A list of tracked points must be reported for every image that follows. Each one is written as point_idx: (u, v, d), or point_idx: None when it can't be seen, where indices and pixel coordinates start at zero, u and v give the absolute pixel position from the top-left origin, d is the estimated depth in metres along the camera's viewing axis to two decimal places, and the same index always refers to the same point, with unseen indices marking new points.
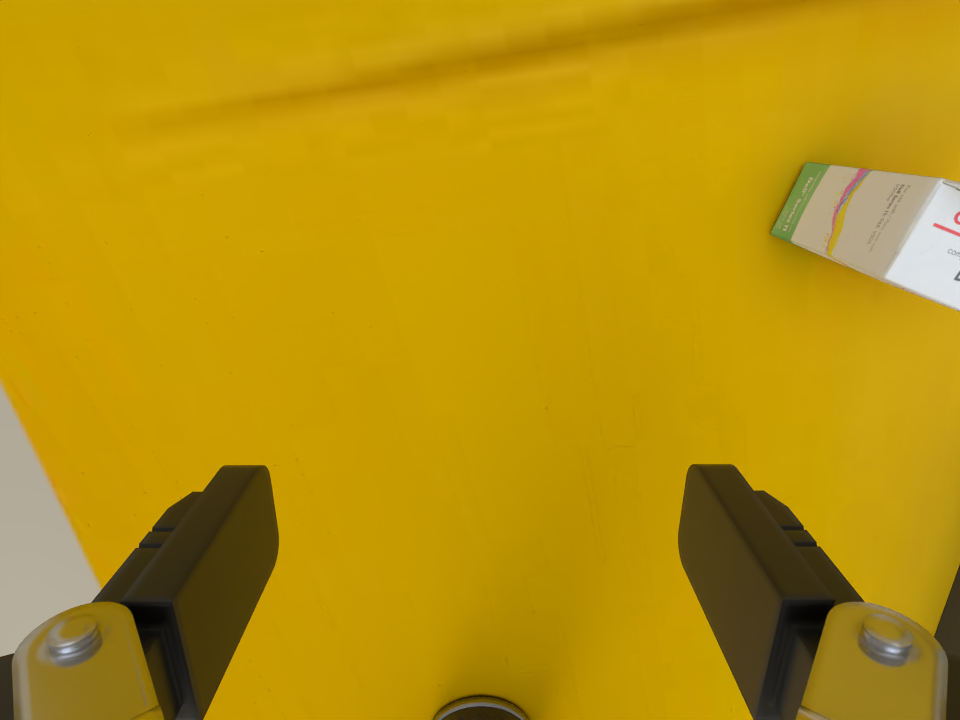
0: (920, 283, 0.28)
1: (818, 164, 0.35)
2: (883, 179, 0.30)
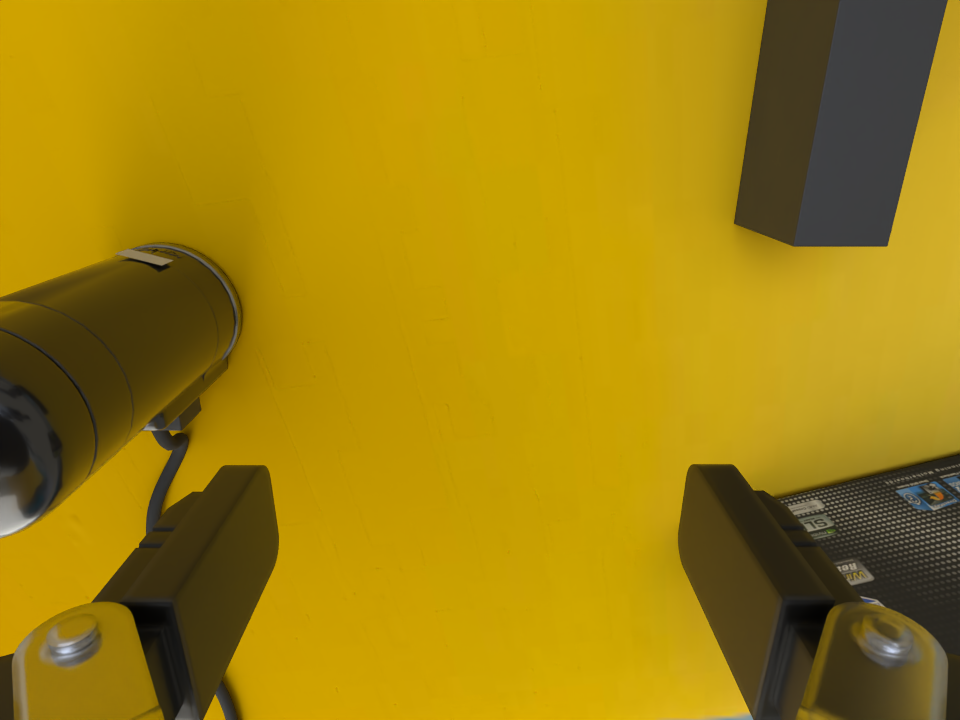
0: None
1: None
2: None
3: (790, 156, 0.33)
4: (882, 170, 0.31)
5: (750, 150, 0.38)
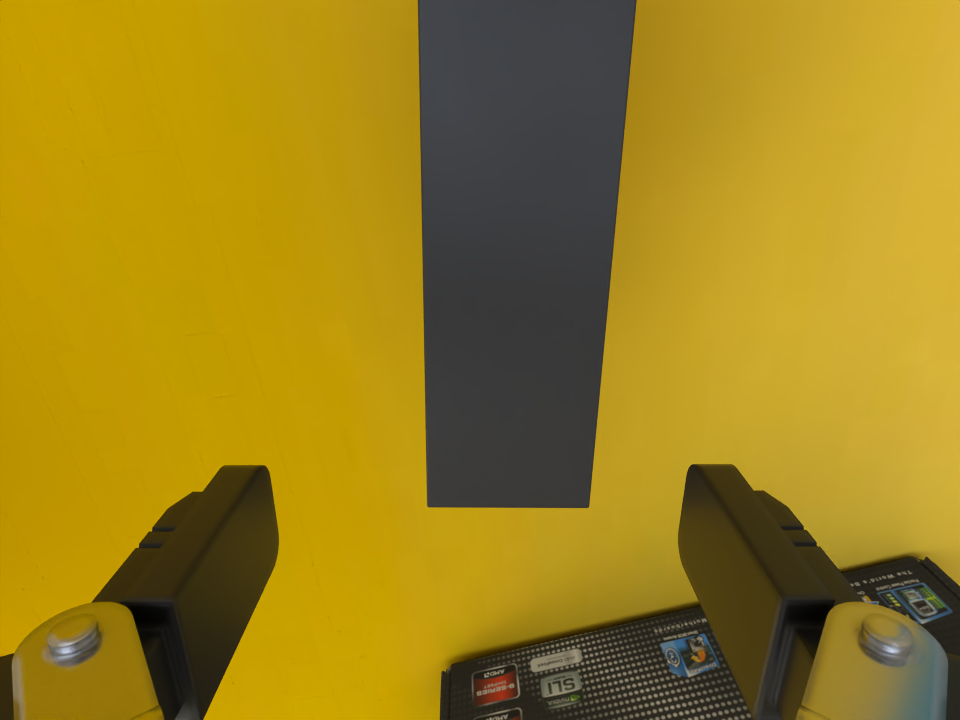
0: None
1: None
2: None
3: None
4: (557, 392, 0.18)
5: None
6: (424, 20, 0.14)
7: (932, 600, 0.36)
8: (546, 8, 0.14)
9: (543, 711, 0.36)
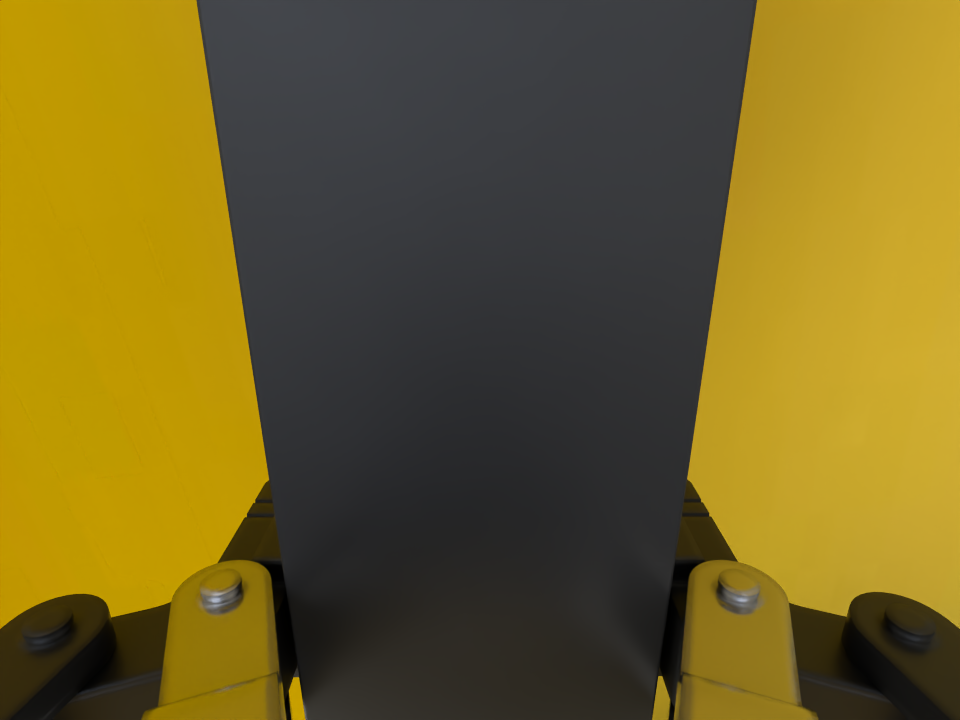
0: None
1: None
2: None
3: None
4: (573, 643, 0.08)
5: None
6: None
7: None
8: None
9: None
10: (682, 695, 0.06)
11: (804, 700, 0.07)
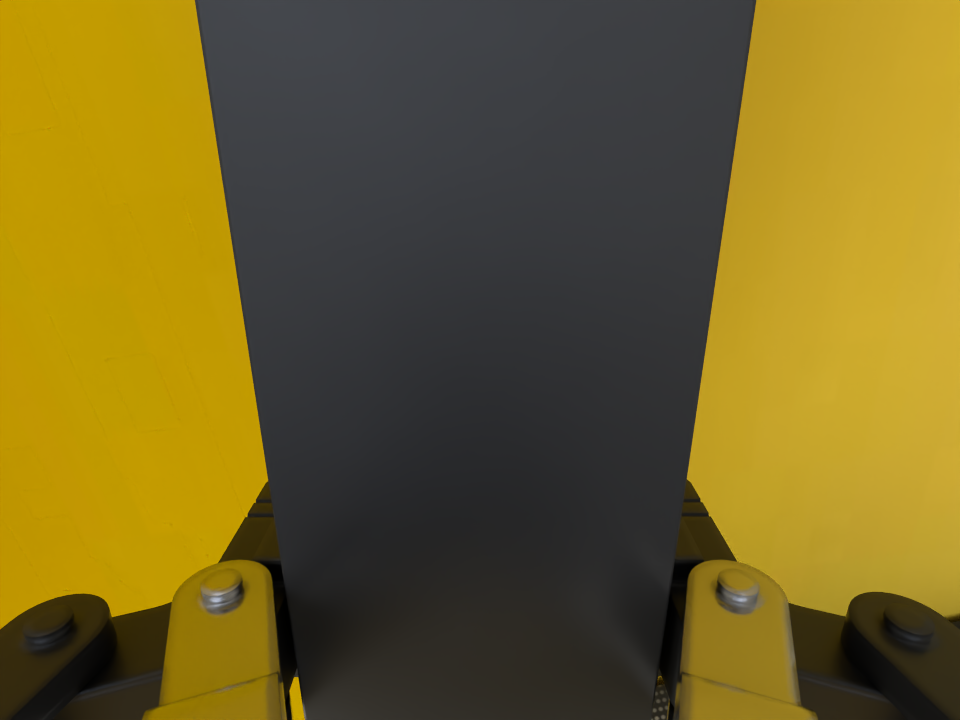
0: None
1: None
2: None
3: None
4: (572, 642, 0.08)
5: None
6: None
7: None
8: None
9: None
10: (682, 695, 0.06)
11: (803, 700, 0.07)
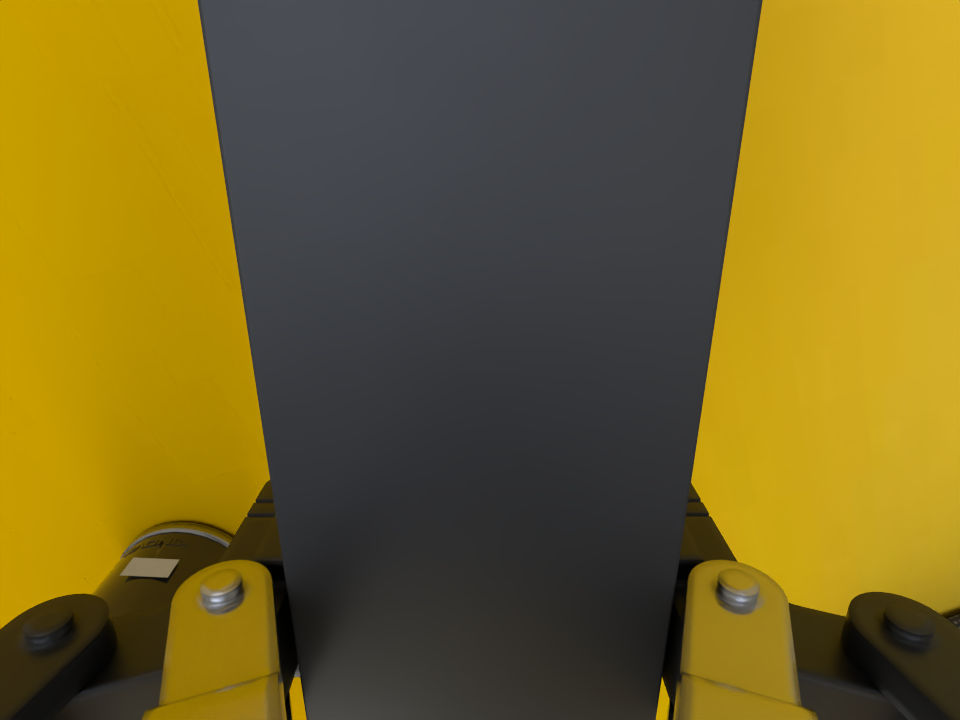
0: None
1: None
2: None
3: None
4: (576, 641, 0.08)
5: None
6: None
7: None
8: None
9: None
10: (681, 695, 0.06)
11: (803, 700, 0.07)
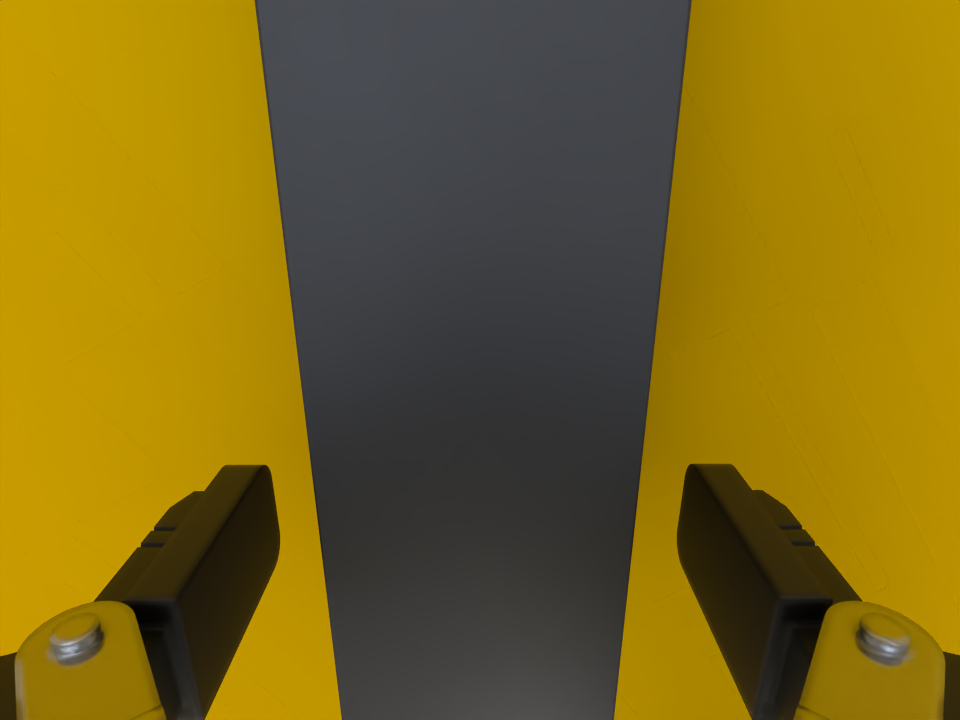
0: None
1: None
2: None
3: None
4: (555, 562, 0.10)
5: None
6: None
7: None
8: None
9: None
10: None
11: None
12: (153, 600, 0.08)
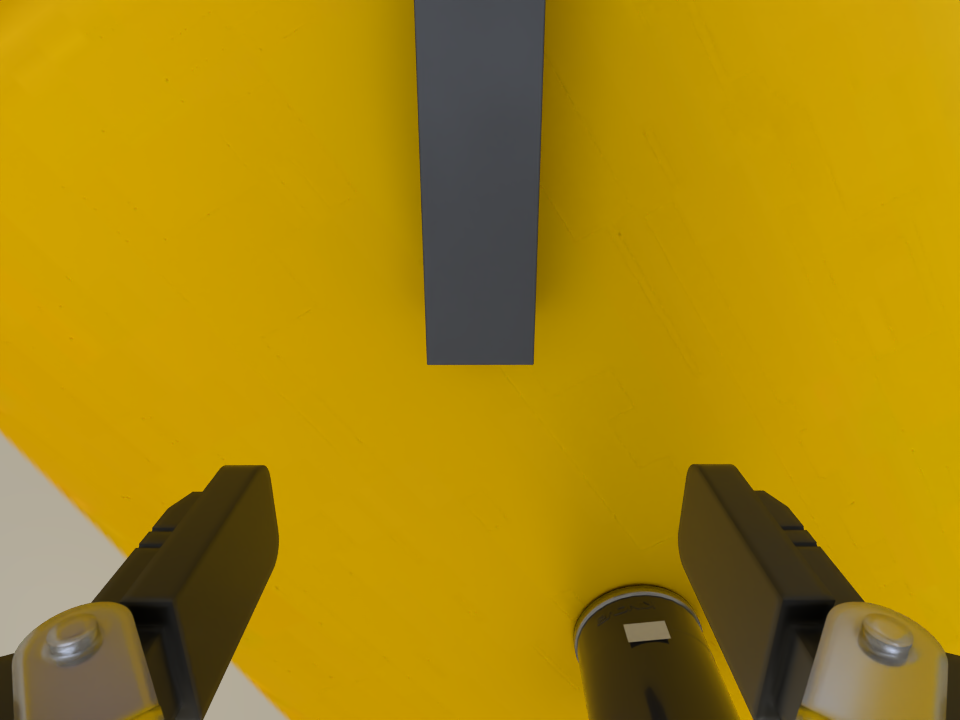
0: None
1: None
2: None
3: None
4: (508, 284, 0.27)
5: None
6: (419, 50, 0.24)
7: None
8: (491, 42, 0.24)
9: None
10: None
11: None
12: (150, 601, 0.08)
